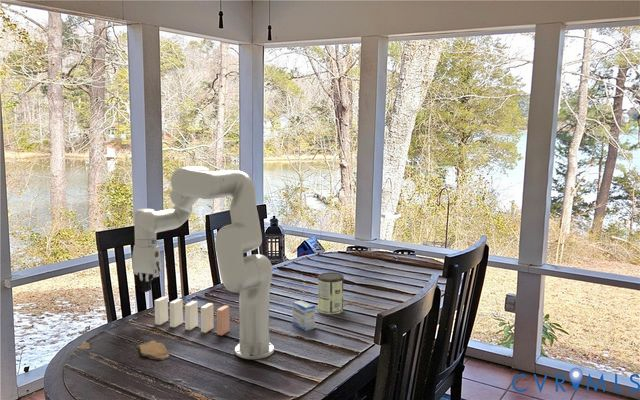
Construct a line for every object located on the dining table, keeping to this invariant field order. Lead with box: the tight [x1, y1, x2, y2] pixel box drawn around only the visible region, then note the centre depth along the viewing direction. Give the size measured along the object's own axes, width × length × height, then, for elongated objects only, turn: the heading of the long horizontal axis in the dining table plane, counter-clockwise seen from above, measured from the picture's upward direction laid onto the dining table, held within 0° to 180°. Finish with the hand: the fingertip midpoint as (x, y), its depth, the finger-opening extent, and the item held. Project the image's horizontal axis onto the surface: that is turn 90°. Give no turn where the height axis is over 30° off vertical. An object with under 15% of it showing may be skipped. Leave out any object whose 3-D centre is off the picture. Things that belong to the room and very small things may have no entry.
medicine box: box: [291, 300, 316, 332], centre depth 186 cm, size 8×4×9 cm, turn 40°
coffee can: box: [317, 272, 345, 315], centre depth 203 cm, size 10×10×14 cm
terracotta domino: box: [216, 304, 230, 336], centre depth 180 cm, size 2×5×9 cm, turn 160°
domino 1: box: [169, 298, 184, 328], centre depth 186 cm, size 2×5×9 cm, turn 160°
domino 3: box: [200, 302, 215, 334], centre depth 182 cm, size 2×5×9 cm, turn 160°
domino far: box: [154, 296, 169, 326], centre depth 188 cm, size 2×5×9 cm, turn 160°
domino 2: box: [184, 300, 199, 331], centre depth 184 cm, size 2×5×9 cm, turn 160°
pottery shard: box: [136, 340, 170, 361], centre depth 164 cm, size 8×3×15 cm
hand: (146, 290), depth 190 cm, fingers closed
